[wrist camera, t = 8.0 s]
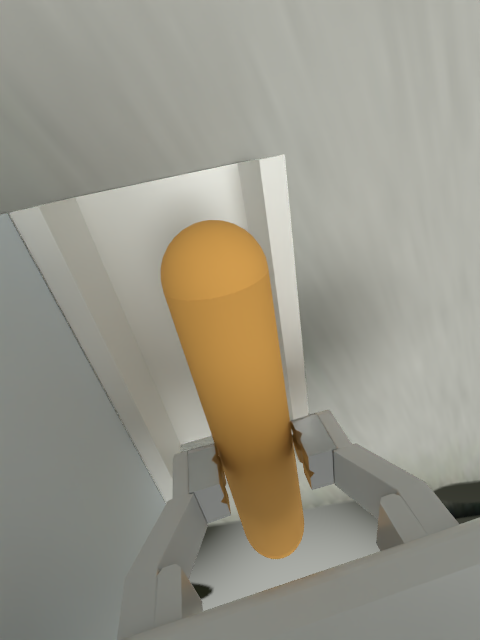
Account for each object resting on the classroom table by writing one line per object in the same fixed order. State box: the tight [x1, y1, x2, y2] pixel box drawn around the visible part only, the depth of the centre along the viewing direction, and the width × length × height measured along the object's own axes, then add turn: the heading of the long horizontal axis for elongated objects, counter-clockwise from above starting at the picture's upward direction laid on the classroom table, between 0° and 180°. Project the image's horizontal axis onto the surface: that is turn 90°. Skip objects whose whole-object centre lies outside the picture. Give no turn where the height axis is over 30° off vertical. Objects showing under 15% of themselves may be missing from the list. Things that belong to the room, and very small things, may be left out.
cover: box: [0, 213, 166, 640], centre depth 10 cm, size 10×18×1 cm
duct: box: [9, 154, 309, 503], centre depth 17 cm, size 10×18×5 cm, turn 11°
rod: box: [161, 220, 304, 559], centre depth 11 cm, size 3×16×3 cm, turn 11°
